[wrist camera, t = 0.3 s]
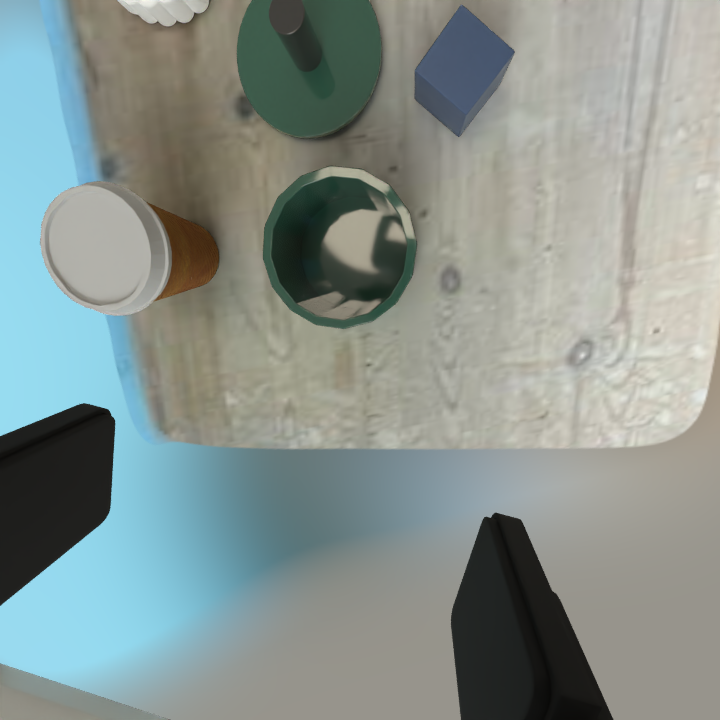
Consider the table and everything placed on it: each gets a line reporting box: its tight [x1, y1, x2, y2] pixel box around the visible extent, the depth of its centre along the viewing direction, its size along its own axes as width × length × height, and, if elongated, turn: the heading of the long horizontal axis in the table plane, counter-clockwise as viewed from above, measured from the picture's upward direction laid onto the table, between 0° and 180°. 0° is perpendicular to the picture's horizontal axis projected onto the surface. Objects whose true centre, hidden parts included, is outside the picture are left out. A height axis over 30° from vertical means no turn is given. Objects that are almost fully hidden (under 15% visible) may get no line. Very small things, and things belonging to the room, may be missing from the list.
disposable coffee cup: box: [40, 181, 219, 316], centre depth 33 cm, size 10×10×12 cm
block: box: [415, 5, 515, 137], centre depth 30 cm, size 5×5×5 cm
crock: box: [263, 166, 417, 329], centre depth 33 cm, size 11×11×8 cm
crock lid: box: [237, 0, 382, 139], centre depth 30 cm, size 12×12×7 cm
